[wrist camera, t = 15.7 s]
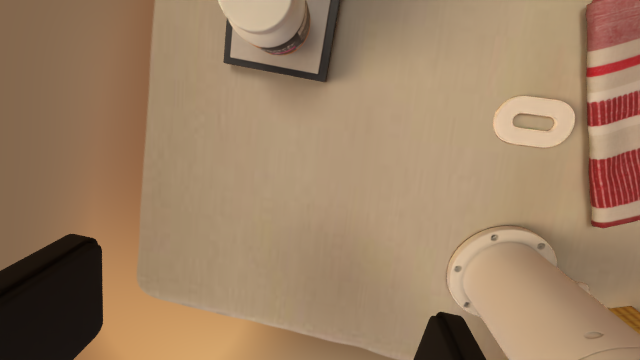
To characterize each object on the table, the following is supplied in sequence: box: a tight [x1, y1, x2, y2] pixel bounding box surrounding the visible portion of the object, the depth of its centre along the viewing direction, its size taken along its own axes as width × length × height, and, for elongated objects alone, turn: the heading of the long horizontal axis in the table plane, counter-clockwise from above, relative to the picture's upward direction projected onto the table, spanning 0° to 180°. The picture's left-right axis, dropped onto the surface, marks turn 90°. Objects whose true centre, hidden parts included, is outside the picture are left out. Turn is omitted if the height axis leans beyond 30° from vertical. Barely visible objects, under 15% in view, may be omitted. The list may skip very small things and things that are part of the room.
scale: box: [224, 0, 340, 82], centre depth 28 cm, size 10×10×3 cm
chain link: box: [493, 96, 575, 148], centre depth 31 cm, size 8×1×5 cm
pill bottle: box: [218, 0, 310, 56], centre depth 22 cm, size 6×6×10 cm
